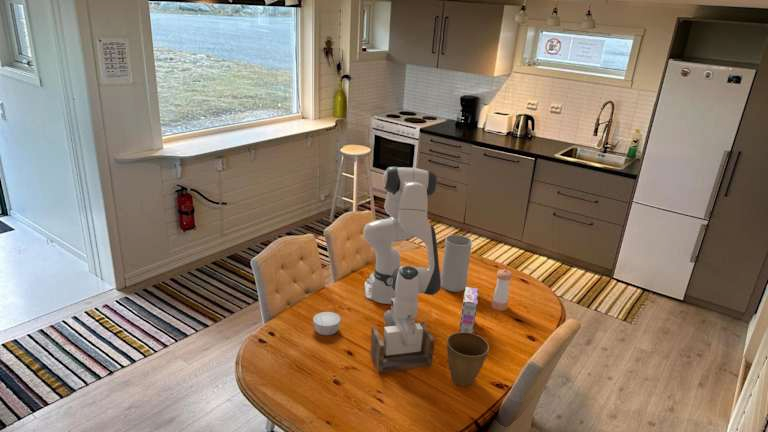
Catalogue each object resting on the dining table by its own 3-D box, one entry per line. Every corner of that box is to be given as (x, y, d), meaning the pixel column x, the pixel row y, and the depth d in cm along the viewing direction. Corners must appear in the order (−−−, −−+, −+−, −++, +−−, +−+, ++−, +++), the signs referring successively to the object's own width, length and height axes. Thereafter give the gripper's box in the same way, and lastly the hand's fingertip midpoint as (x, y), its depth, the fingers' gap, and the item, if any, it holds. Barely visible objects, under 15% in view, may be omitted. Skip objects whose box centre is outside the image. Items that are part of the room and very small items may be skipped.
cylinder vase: (448, 277, 272) (453, 232, 263) (470, 285, 266) (476, 239, 257) (435, 286, 263) (440, 240, 254) (458, 295, 256) (464, 247, 247)
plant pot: (455, 397, 187) (460, 359, 182) (435, 372, 200) (439, 335, 194) (491, 388, 193) (497, 351, 188) (469, 364, 206) (474, 328, 200)
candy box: (472, 338, 223) (477, 303, 217) (458, 335, 224) (463, 301, 218) (474, 320, 236) (478, 287, 230) (460, 318, 237) (465, 285, 231)
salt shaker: (506, 303, 252) (512, 266, 245) (508, 311, 245) (514, 274, 238) (490, 301, 252) (496, 265, 245) (492, 309, 246) (497, 272, 239)
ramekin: (307, 328, 222) (307, 317, 220) (327, 319, 229) (328, 308, 228) (325, 340, 215) (325, 329, 213) (345, 330, 222) (346, 319, 221)
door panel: (382, 349, 204) (384, 326, 200) (417, 345, 208) (419, 323, 204) (385, 355, 200) (387, 332, 197) (420, 351, 204) (423, 328, 201)
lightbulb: (386, 339, 218) (388, 315, 214) (379, 331, 223) (381, 308, 219) (399, 336, 221) (401, 312, 217) (392, 328, 226) (394, 305, 222)
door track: (370, 354, 208) (371, 327, 204) (420, 347, 214) (423, 322, 210) (378, 373, 197) (380, 345, 193) (431, 366, 203) (434, 339, 199)
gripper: (423, 323, 189) (419, 356, 194) (404, 295, 207) (402, 325, 212) (406, 325, 187) (403, 358, 192) (389, 296, 206) (386, 327, 211)
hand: (402, 341), depth 203 cm, fingers closed on door panel, 4 cm apart
